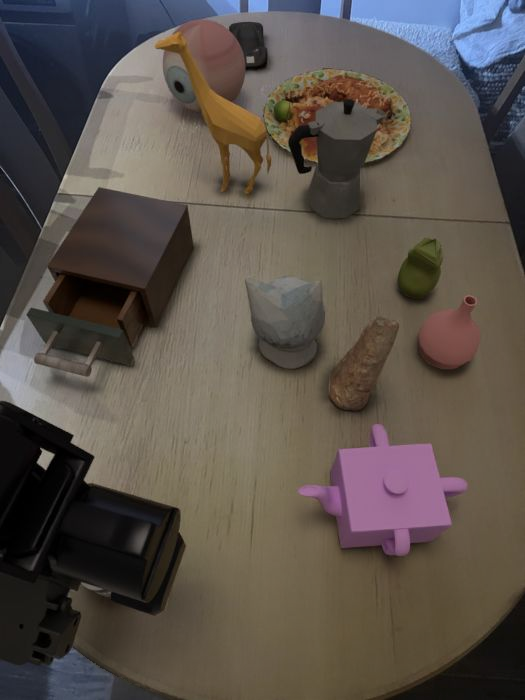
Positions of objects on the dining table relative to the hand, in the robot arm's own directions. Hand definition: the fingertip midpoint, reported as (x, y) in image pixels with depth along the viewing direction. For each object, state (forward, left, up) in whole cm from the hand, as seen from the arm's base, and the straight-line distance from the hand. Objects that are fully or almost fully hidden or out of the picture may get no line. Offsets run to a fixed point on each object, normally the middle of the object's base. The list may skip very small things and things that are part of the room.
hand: (94, 560), depth 49 cm
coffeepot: (+11, +63, -8) cm, 64 cm away
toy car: (-15, +104, -8) cm, 105 cm away
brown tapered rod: (+21, +29, -8) cm, 36 cm away
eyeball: (-17, +83, -8) cm, 85 cm away
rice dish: (+8, +85, -8) cm, 86 cm away
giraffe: (-7, +62, -8) cm, 63 cm away
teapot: (+26, +15, -8) cm, 31 cm away
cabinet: (-14, +39, -8) cm, 43 cm away
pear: (+27, +48, -8) cm, 55 cm away
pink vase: (+32, +38, -8) cm, 50 cm away
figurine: (+11, +34, -8) cm, 37 cm away
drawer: (-14, +29, -7) cm, 33 cm away
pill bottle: (0, 0, -8) cm, 8 cm away
